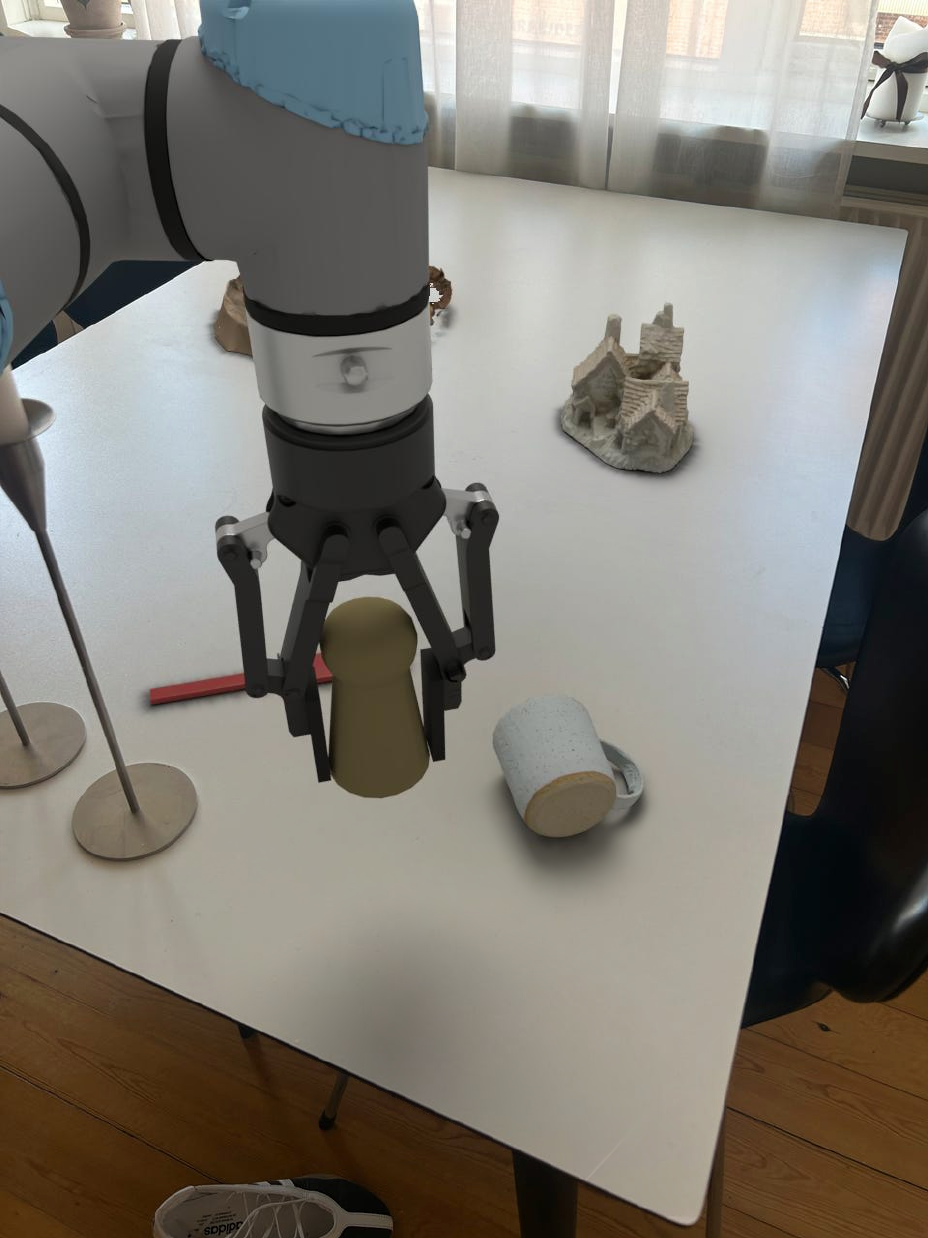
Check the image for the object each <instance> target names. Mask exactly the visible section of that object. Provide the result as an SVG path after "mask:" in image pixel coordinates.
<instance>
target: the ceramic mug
mask: <svg viewBox="0 0 928 1238" xmlns="http://www.w3.org/2000/svg"><path fill="white" fill-rule="evenodd" d="M491 744H492V748H493V751H494V753H495V755H496V759H497V761H498V763H499V767H500V768H501V770H502V774H503V776H504V779H505V781H506V783H507V786H508V788H509V790H510V792H511V796H512V798H513V802H514V805H515V807H516V809H517V812H518V813H519V815H520V817H521V818H522V820H523V821H524V823H525V824H526V826H527V827H528V828H529V829H530V830H532V831H533V832H534V833H536V834H538V835H541V836H544V837H548V838H566V837H572V836H575V835H578V834H580V833H583V832H586V831H588V830H590V829H591V828H593V827H595V826H597V825H598V824H599V823H600V822H601V821H603V820H604V818H606V816H607V815H608V814H609V813H610V812H611V811H621V810H626V809H629V808H631V807H632V806H633V805H634V804H635V803H636V802H637V801H638V799H639V798H640V796H641V795H642V794H643V790H644V787H645V781H644V775H643V773H642V770H641V768H640V766H639V764H637V762H636V761H635V760H634V758H633V757H632V756H631V755H630V754H629V753H628V752H626V751H625V750H624V749H623V748H621V747H620V746H618V745H617V744H614V743H612V742H610V741H608V740H606V739H604V738H602V737H601V738H600V737H599V735H598V733H597V731H596V729H595V726H594V722H593V721H592V717H591V715H590V713H589V711H588V709H587V708H586V707H585V705H584V704H583V703H582V702H581V701H579V700H578V699H576V698H574V697H573V696H569V695H566V694H560V693H549V694H541V695H537V696H534V697H530V698H528V699H526V700H523V701H521V702H519V703H517V704H516V705H514V706H513V707H511V708H510V709H509V710H507V712H505V713H504V715H502V716H501V718H500V719H499V720H498V721H497V723H496V725H495V727H494V729H493V732H492V743H491ZM610 763H611V764H613V765H614V767H615V766H616V767H617V768H618V769H619V771H620V772H621V773H622V775H623V776H624V779H625V781H626V784H627V787H628V788H627V791H628V793H629V794H617V785H616V781H615V780H616V779H615V776H614V772H613V768H612V767H611V764H610Z"/></svg>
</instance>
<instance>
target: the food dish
mask: <svg viewBox="0 0 928 1238" xmlns="http://www.w3.org/2000/svg"><path fill="white" fill-rule="evenodd" d="M430 283H433V285H432V286H431V287H430V288H436V290H437V291H439V295H443V296H442V297H441V298H439V299H440V301H438V302H429V304H430V326H432V325H434V323H435V321H434V319H433V316H434V315H435V316H436V317H437V318H438V317H440V316H441V315H442V313H443V311H444V310H446V309H447V308H448V307H449V305H450V303H451V301H452V297H453V288H452V287H453V286H452V281H451V280H449V279H447V278H446V275H445V271H444V270H443V268H442V267H440V268H438V267H436V266H435V265H429V284H430ZM430 285H431V284H430ZM242 286H243V283H242V279H241V276H240V274H238V276H237V277H236V278H232V279H230V280H228V282H227V283H226V287H225V291H224V294H223V297H222V302H221V306H220V308H219V311H218V315H217V318H216V320H215V322H214V323H213V324H212V326H213V329H214V335H215V336H214V338H215V339H216V341H217V342H218V343H219V345H221V347H222V348H224V350H225V351H227V352H234V353H238V354H239V353H240V354H243V355H244V354H245V355H248V356H251V357H253V354H252V347H251V341H250V335H249V328H248V322H247V316H246V310H245V303H244V296H243V289H242ZM432 303H434V304H432ZM438 308H439V309H440V310H439V311H438V312H437V313H436V309H438ZM219 327H220V328H219Z"/></svg>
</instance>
